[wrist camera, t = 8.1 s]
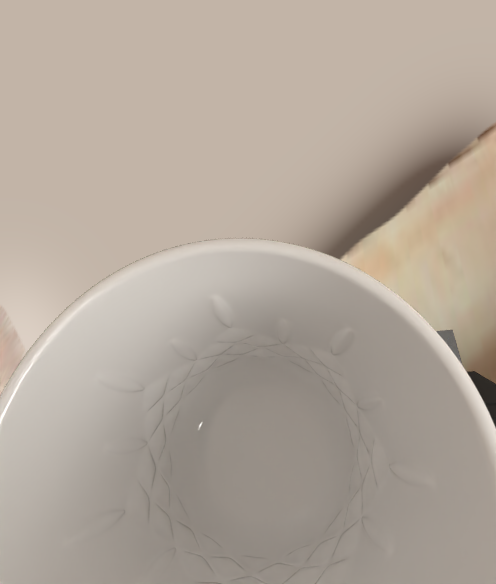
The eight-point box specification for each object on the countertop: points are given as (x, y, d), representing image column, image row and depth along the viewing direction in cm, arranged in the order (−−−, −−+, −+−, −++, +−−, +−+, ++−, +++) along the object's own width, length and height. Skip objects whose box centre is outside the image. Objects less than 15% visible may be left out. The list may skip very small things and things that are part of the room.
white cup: (147, 389, 16) (-62, 340, 6) (309, 320, 16) (340, 174, 7) (207, 597, 13) (-13, 1073, 3) (403, 507, 13) (694, 718, 4)
